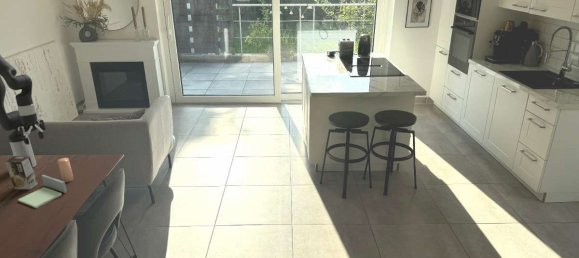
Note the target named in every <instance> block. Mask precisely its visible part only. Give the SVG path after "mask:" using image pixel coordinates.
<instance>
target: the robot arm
mask: <svg viewBox="0 0 579 258" xmlns="http://www.w3.org/2000/svg"><path fill="white" fill-rule="evenodd" d="M4 81H5V83H6V84H7V87H8V88H10V90H13V91H20V90H21V91H20V92H19V93H18V94H16V95H15V101H16V104H17V110H16V109H15V110H12V111H10V112H7V111H6V108H5V103H4V102H5V98H6V91H7V88H6V84H5V83H4ZM32 94H33V80H32V78H31V77H30V76H29V75H28V74H20V75H18V73H17V69H16V68H15V67H14V66H13V65H11V64H10V63H9V62H8V61H7V60H5V58H4V57H3V56H2V55H1V54H0V127H1V129H3V130H4V131H6V132H10V131H12V132H11V133H10V134H9V135H8V138H7V139H8V142H9V144H10V147H11V151H12V154H13V157H14V156H23V157H30V159H31V162H32V165H33V168H34V167H36V166H37V160H36V158H35V155H34V151H33V147H32V144H31V141H30V136H29V135H30V134H31V133H32V132H34V131H37V132H38V133H37V134H38V138H39V139H40V140H43V139H44V138H45V136H44V131H45V130H47V129H46V125H45V122H44V120H43V119H38V115H37V111H36V107H35V105H34V102H33V96H32Z"/></svg>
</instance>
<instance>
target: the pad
mask: <svg viewBox="0 0 579 258" xmlns="http://www.w3.org/2000/svg"><path fill="white" fill-rule="evenodd" d="M60 196H62V192H60V191H59V192H58V191H57V190H55V189H52V188H49V187H46V186H43V187H41V188H39V189H37V190H34V191H33V192H31V193H28V194H27V195H25V196H22V197H20V198H18V199H17V200H18V202H20V203H22V204H25V205H26V206H30V207H33V208H34V209H39V208H40V207H42V206H43V205H45V204H47V203H50V202H51V201H53V200H55V199H57V198H59V197H60Z"/></svg>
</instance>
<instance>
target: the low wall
mask: <svg viewBox="0 0 579 258" xmlns="http://www.w3.org/2000/svg"><path fill="white" fill-rule="evenodd" d="M41 179H42V183H43V187H45V188H48V189H51V190H54V191H57V192H58V191H59V192H60V193H64V194H67V193H68V188H67V185H66V182H64V181H63V180H60V179H58V178H54V177H51V176H48V175H46V174H42V175H41Z"/></svg>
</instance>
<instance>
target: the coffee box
mask: <svg viewBox="0 0 579 258" xmlns="http://www.w3.org/2000/svg"><path fill="white" fill-rule="evenodd" d="M4 163H5V165H6V168H7V170H8V174H9V177H10V180H11V182H12V185H13V187H14V190H32V189H33V188H34V187H36V186H37V185H38V184H39V183H38V180H37V176H36V172H35V169H34V167H33V165H32V162H31V159H30V157H23V156H14V155H13V157H11V158H9V159H8V160H6V161H5V162H4Z"/></svg>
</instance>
